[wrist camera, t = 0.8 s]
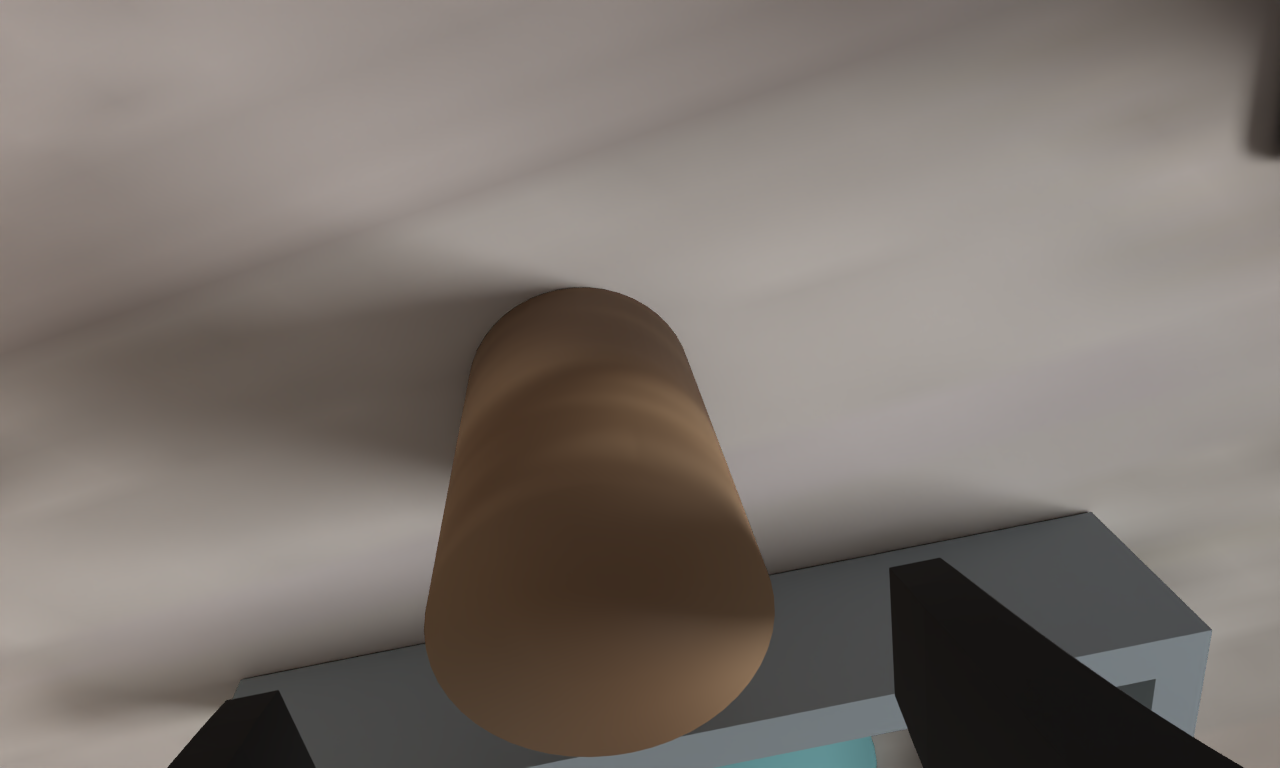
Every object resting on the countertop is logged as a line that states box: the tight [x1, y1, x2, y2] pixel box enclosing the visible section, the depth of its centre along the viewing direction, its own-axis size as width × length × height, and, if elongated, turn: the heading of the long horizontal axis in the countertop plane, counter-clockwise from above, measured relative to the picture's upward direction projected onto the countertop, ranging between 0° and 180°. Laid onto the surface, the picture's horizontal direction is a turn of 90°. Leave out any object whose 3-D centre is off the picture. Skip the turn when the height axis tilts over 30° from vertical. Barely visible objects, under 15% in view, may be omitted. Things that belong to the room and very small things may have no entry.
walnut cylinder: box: [424, 288, 775, 757], centre depth 14 cm, size 4×4×7 cm
